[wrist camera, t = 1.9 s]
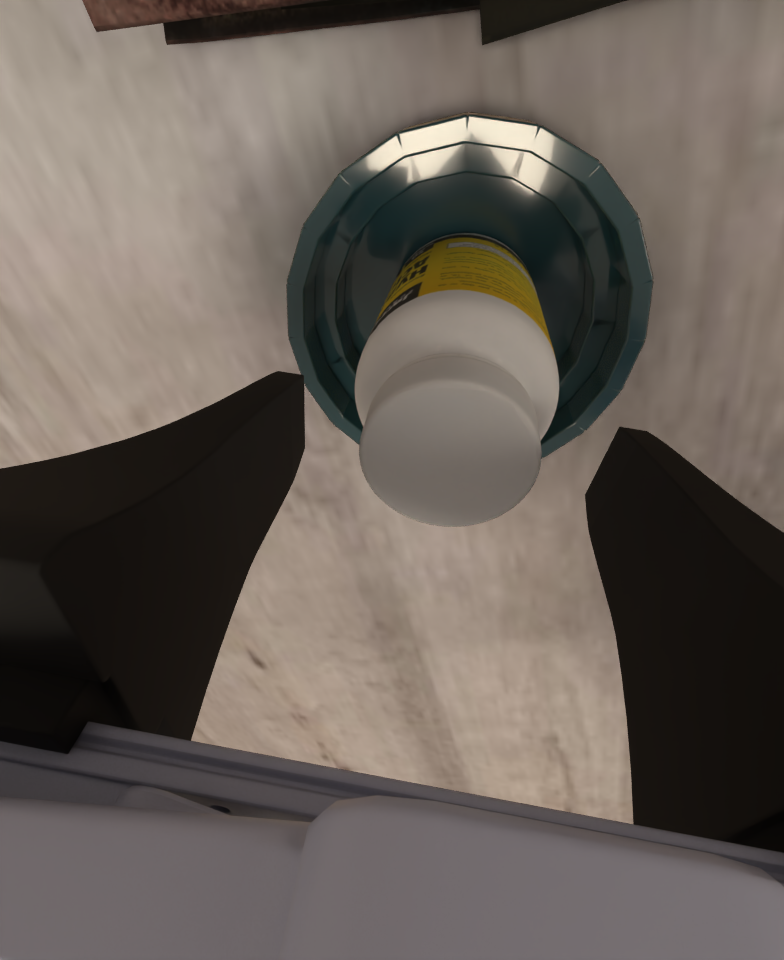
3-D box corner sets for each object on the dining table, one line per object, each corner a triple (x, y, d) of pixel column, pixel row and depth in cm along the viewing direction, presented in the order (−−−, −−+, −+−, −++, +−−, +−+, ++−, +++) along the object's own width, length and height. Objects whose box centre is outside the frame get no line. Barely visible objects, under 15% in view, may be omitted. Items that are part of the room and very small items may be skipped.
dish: (690, 143, 14) (736, 152, 12) (559, 452, 21) (571, 497, 19) (311, 88, 14) (278, 86, 12) (311, 410, 22) (291, 450, 19)
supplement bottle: (419, 203, 16) (370, 298, 8) (563, 265, 16) (642, 407, 9) (371, 346, 19) (305, 506, 12) (492, 393, 20) (504, 574, 12)
